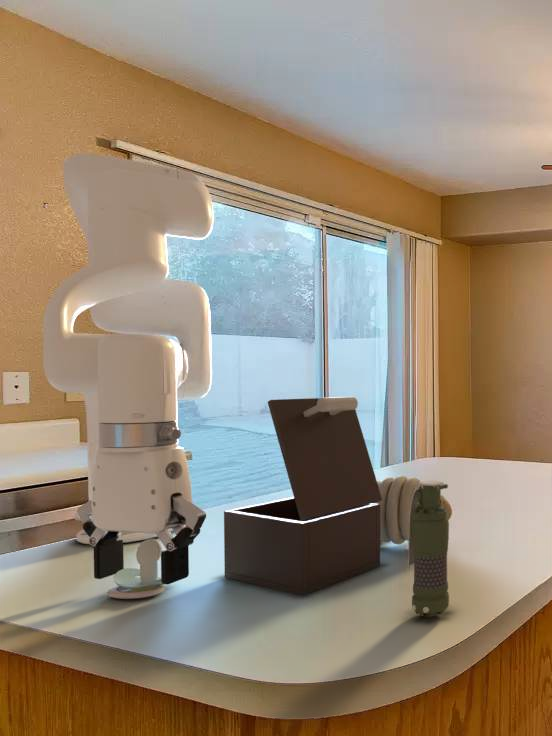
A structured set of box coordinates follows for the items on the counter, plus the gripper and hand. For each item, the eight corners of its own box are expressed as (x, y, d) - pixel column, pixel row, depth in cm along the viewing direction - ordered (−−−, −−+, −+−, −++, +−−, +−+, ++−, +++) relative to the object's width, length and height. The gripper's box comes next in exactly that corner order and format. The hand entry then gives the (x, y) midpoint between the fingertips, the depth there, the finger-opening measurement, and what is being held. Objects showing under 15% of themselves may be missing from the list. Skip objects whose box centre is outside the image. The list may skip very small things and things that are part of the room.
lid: (267, 401, 73) (295, 386, 71) (348, 398, 85) (374, 385, 83) (300, 521, 72) (330, 508, 69) (378, 501, 83) (406, 490, 81)
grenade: (456, 610, 68) (456, 480, 67) (434, 624, 64) (434, 486, 63) (424, 605, 69) (424, 478, 69) (401, 618, 65) (401, 483, 65)
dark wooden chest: (224, 577, 78) (223, 511, 77) (306, 552, 89) (306, 494, 89) (303, 595, 72) (302, 523, 71) (380, 565, 83) (380, 503, 83)
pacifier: (148, 604, 69) (189, 584, 75) (146, 551, 68) (187, 536, 74) (91, 601, 69) (136, 582, 75) (88, 549, 69) (134, 533, 75)
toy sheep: (447, 554, 89) (448, 481, 88) (329, 557, 86) (329, 482, 86) (455, 536, 99) (455, 470, 99) (350, 538, 97) (350, 471, 97)
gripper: (227, 436, 73) (228, 573, 74) (110, 432, 76) (112, 564, 77) (173, 442, 66) (176, 594, 67) (46, 438, 69) (49, 583, 70)
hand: (141, 577), depth 72 cm, fingers open, 9 cm apart
